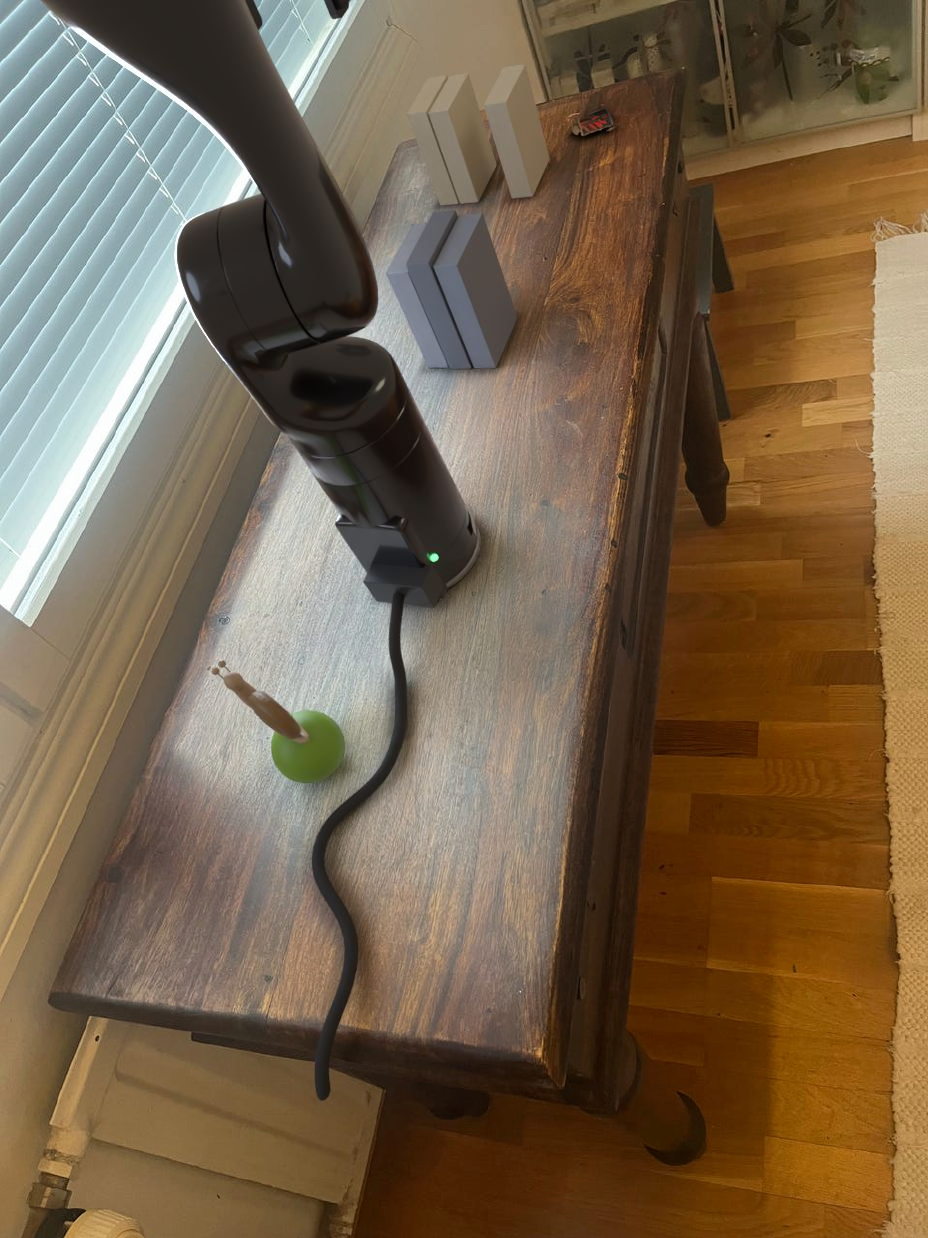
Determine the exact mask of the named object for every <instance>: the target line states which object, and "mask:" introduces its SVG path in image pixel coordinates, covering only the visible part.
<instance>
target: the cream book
mask: <svg viewBox="0 0 928 1238" xmlns="http://www.w3.org/2000/svg"><path fill="white" fill-rule="evenodd" d="M530 81H531V80H530V76H529V73H528V70H527V65H526V63H521V64H516V65H515V64H514V65H509V66H503V68H502V69H501V71H500V72H499V75H498V77H497V78H496V81H495V82H494V85H493V86H492V88H491V90H490V92H489V93H488V96H487V98H486V100H485V101H484V104H483V108H484V111H485V114H486V117H487V122H488V124H489V127H490V131H491V133H492V138H493V141H494V144H495V147H496V150H497V154H498V158H499V160H500V164H501V167H502V170H503V174H504V178H505V180H506V184H507V188H508V190H509V195H510V197H511V199H524V198H533V197H534V195H535V192H536V190H537V188H538V186H539V184H540V182H541V180H542V177H543V175H544V173H545V171H546V168H547V166H548V164H549V162H550V159H551V158H550V153H549V151H548V147H547V142H546V139H545V135H544V131H543V127H542V123H541V120H540V115H539V112H538V107H537V104H536V100H535V96H534V92H533V88H532V84H531V82H530Z"/></svg>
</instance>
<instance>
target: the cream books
mask: <svg viewBox="0 0 928 1238" xmlns="http://www.w3.org/2000/svg"><path fill="white" fill-rule="evenodd" d="M406 116H407V120H408V122H409V125H410V127H411V130H412V133H413V135H414V138H415V141H416V143H417V146H418V149H419V151H420V154H421V157H422V160H423V163H424V165H425V168H426V170H427V173H428V176H429V179H430V181H431V184H432V187H433V189H434V192H435V195H436V197H437V199H438V202H439V205H440V206H441V207H442V206H451V205H459V204H461V205H462V204H472V203H473V204H475V203H479V202H480V200H481V198H482V196H483V194H484V192H485V190H486V188H487V186H488V184H489V181H490V180H491V178H492V176H493V174H494V171H495V170H496V168H497V161H496V158H495V155H494V151H493V148H492V145H491V141H490V139H489V136H488V132H487V129H486V126H485V125H486V124H485V123H484V119H483V115H482V113H481V109H480V106H479V102H478V99H477V96H476V93H475V90H474V86H473V84H472V80H471V77H470V74H469V72H466V73H461V74H455V75H450V76H448V74H445V75H444V74H442V75H437V76H431V77H427V79H426V80H425V82H424V84H423V86H422V87H421V89H420V90H419V92H418V94H417V96H416V98H415V100H414V101H413V103H412V104H411V105H410V107H409V110H408V111H407V112H406Z"/></svg>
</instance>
